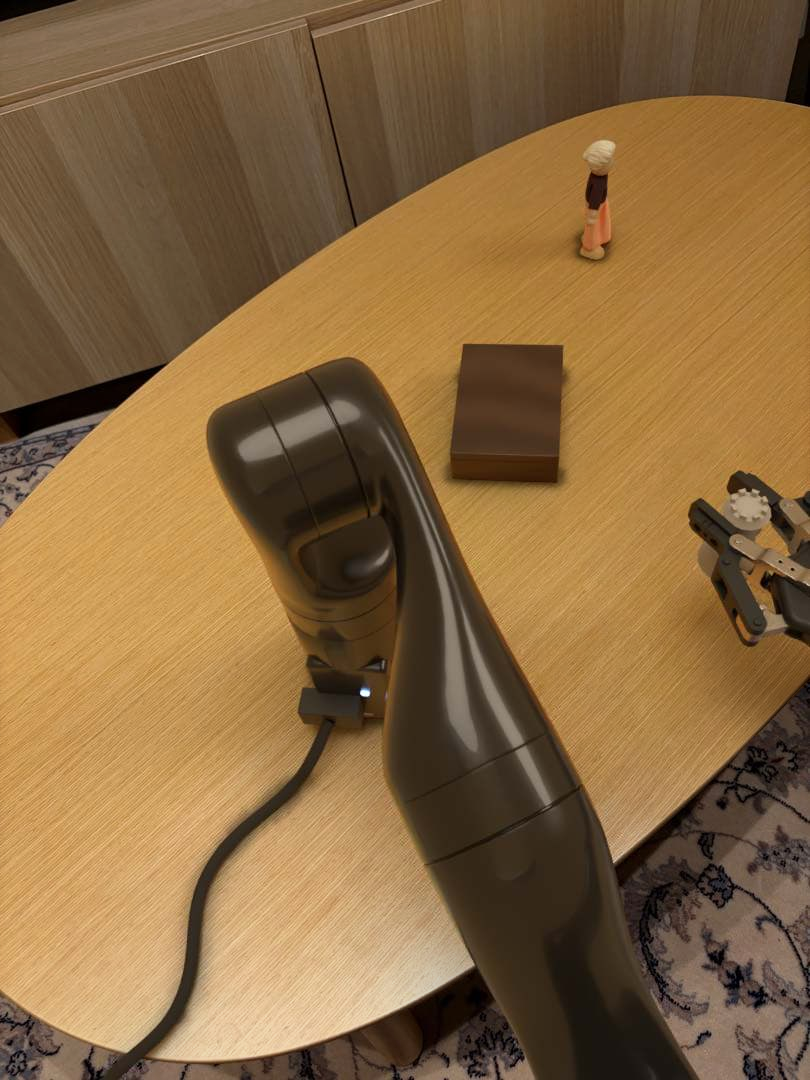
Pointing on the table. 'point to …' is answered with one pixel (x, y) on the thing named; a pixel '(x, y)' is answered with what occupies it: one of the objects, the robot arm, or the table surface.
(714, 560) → the rook chess piece
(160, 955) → the table surface
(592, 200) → the grandmother figurine
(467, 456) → the walnut box
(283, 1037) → the table surface
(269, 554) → the robot arm
